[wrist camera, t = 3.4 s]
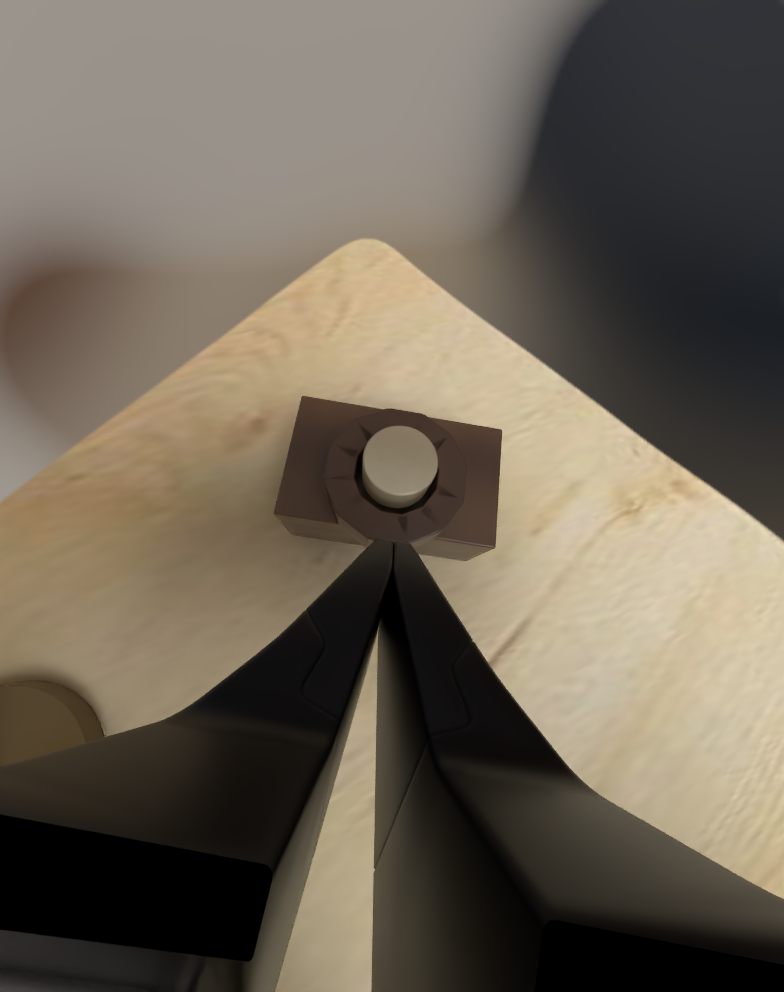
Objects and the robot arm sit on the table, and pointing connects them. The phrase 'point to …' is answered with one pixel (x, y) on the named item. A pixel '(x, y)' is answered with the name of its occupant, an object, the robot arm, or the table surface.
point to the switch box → (360, 519)
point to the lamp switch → (398, 466)
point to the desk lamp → (42, 720)
